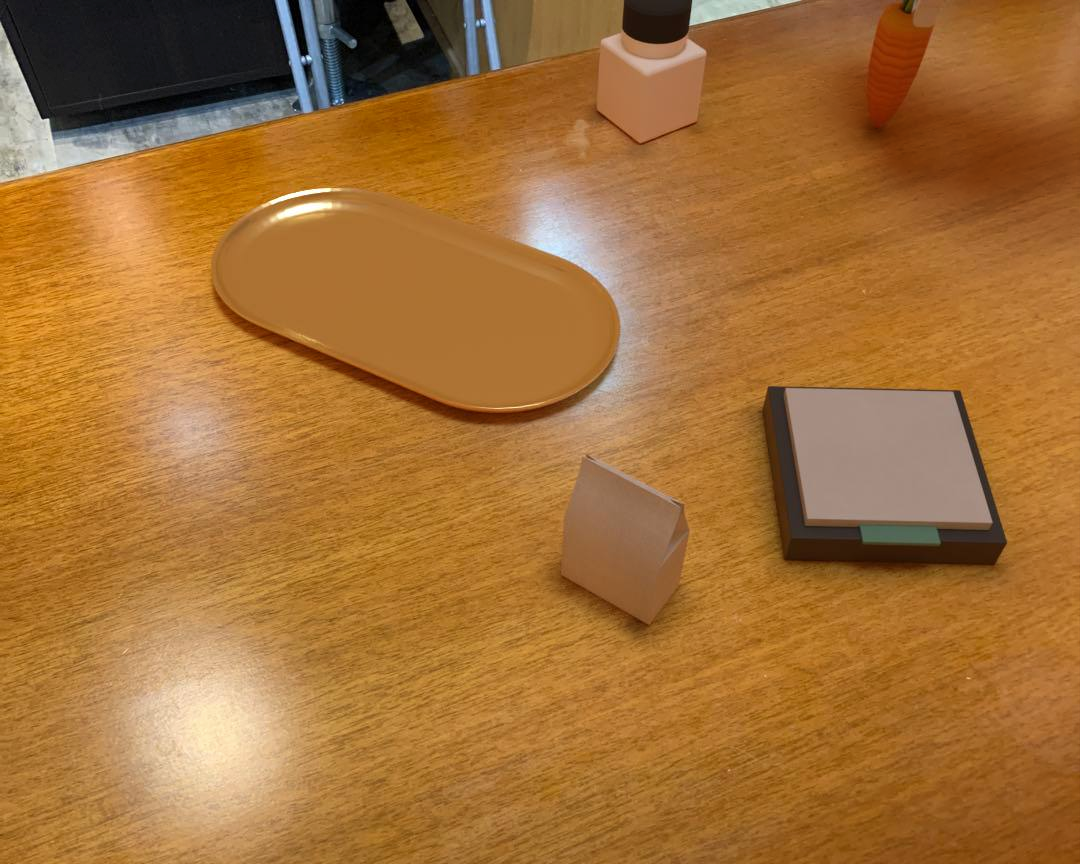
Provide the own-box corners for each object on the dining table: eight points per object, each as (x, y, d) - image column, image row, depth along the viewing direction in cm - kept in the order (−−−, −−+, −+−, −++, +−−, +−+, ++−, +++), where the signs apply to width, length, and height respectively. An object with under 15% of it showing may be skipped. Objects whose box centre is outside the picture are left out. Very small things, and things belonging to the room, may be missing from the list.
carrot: (847, 112, 105) (888, -49, 93) (898, 113, 105) (946, -47, 93) (854, 141, 102) (898, -21, 90) (907, 142, 102) (958, -20, 90)
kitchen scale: (950, 413, 80) (964, 381, 78) (996, 569, 72) (1013, 540, 69) (762, 408, 81) (769, 377, 78) (785, 564, 72) (794, 535, 69)
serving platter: (546, 459, 77) (546, 444, 76) (166, 297, 87) (161, 282, 86) (658, 308, 87) (660, 293, 86) (306, 179, 97) (304, 164, 96)
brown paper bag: (649, 625, 69) (665, 527, 61) (561, 575, 71) (566, 474, 63) (678, 586, 71) (698, 486, 63) (592, 538, 73) (600, 436, 65)
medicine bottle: (698, 122, 104) (716, -4, 94) (639, 145, 101) (651, 18, 92) (653, 89, 107) (665, -36, 98) (594, 110, 105) (602, -16, 95)
